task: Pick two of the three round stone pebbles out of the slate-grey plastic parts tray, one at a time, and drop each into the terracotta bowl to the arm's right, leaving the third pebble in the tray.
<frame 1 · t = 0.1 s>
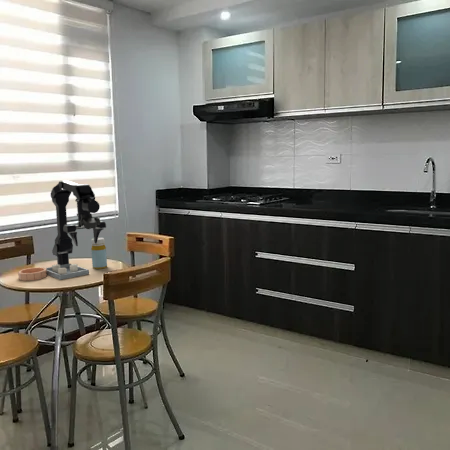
hand: (86, 244, 222), 14 cm above the table, fingers open, 9 cm apart
tray: (65, 274, 227), on the table
pebble a: (74, 273, 227), resting on tray
bowl: (33, 277, 222), on the table
pebble b: (56, 273, 227), resting on tray
bottle: (100, 268, 237), on the table
pebble c: (62, 276, 220), resting on tray
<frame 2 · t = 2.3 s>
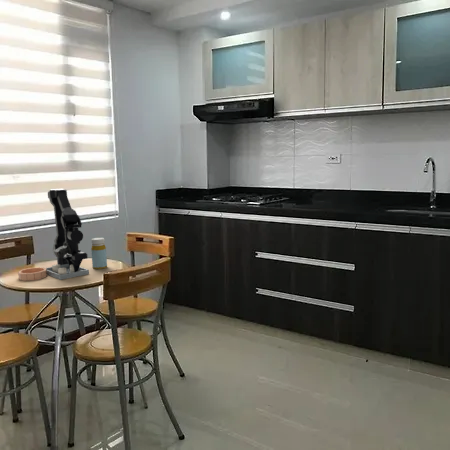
hand: (74, 271, 227), 1 cm above the table, fingers closed on pebble a, 4 cm apart
pebble a: (74, 273, 227), resting on tray, touching gripper
everything else where it was.
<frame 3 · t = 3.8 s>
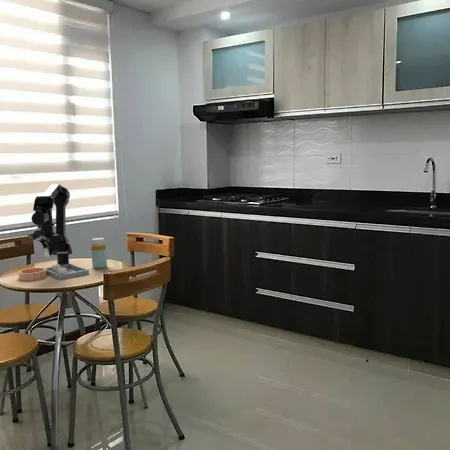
hand: (48, 254, 223), 10 cm above the table, fingers closed on pebble a, 4 cm apart
pebble a: (49, 256, 223), point 9 cm above the table, touching gripper
everything else where it was.
when the fingers open (4 cm above the table, at t = 5.4 s): pebble a drops 3 cm, resting on bowl.
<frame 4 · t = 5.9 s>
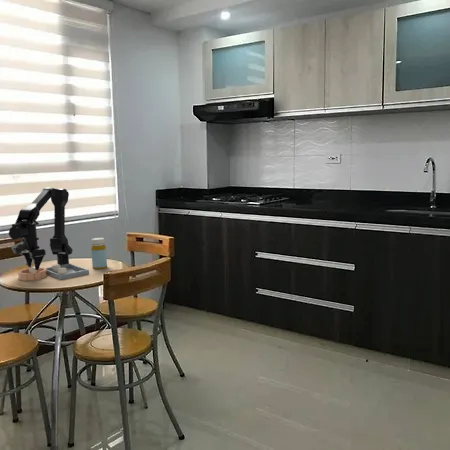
hand: (33, 268, 223), 4 cm above the table, fingers open, 9 cm apart
pebble a: (33, 275, 224), point 1 cm above the table, touching bowl
everything else where it was.
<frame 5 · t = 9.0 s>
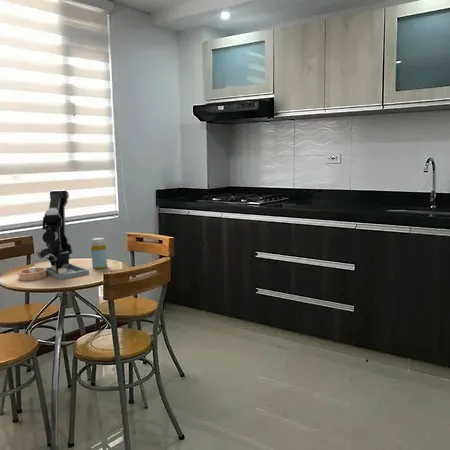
hand: (56, 272, 227), 1 cm above the table, fingers closed on pebble b, 4 cm apart
pebble b: (56, 273, 227), resting on tray, touching gripper
everything else where it was.
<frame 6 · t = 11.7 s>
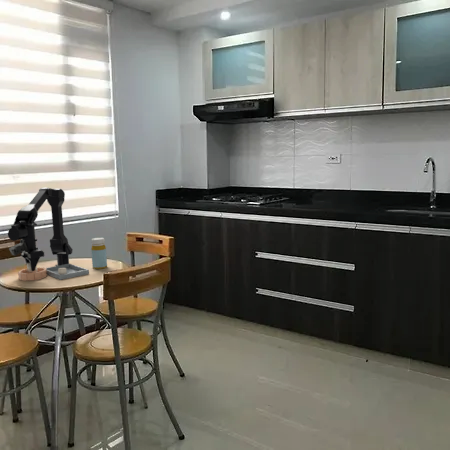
hand: (31, 270, 219), 4 cm above the table, fingers closed on pebble b, 3 cm apart
pebble a: (33, 275, 224), resting on bowl, touching gripper
pebble b: (31, 271, 219), point 3 cm above the table, touching gripper
everything else where it was.
when the fingers open (4 cm above the table, at t = 11.8 s): pebble b drops 3 cm, resting on bowl.
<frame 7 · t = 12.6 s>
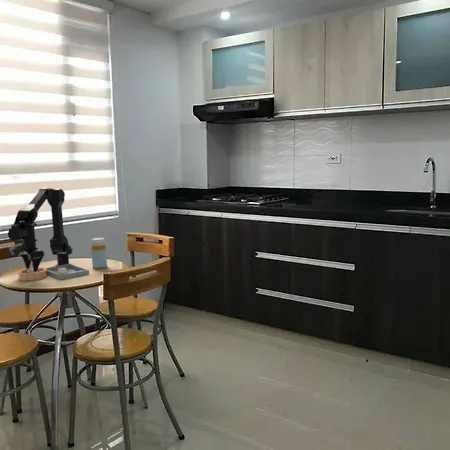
hand: (31, 270, 219), 4 cm above the table, fingers open, 9 cm apart
pebble a: (33, 274, 224), point 1 cm above the table, tilted 16°, touching bowl, gripper
pebble b: (32, 277, 219), point 1 cm above the table, touching bowl
everything else where it was.
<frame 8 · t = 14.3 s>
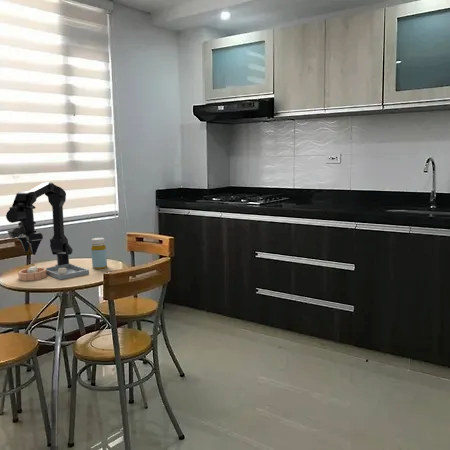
hand: (30, 253, 218), 12 cm above the table, fingers open, 9 cm apart
pebble a: (33, 275, 224), point 1 cm above the table, tilted 5°, touching bowl
everything else where it was.
at the end: pebble a inside the target area on the bowl (2.1 cm from its centre), point 0.6 cm above the bowl's base; pebble b inside the target area on the bowl (2.3 cm from its centre), point 0.5 cm above the bowl's base; pebble c inside the target area on the tray (7.2 cm from its centre), point 0.4 cm above the tray's base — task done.
